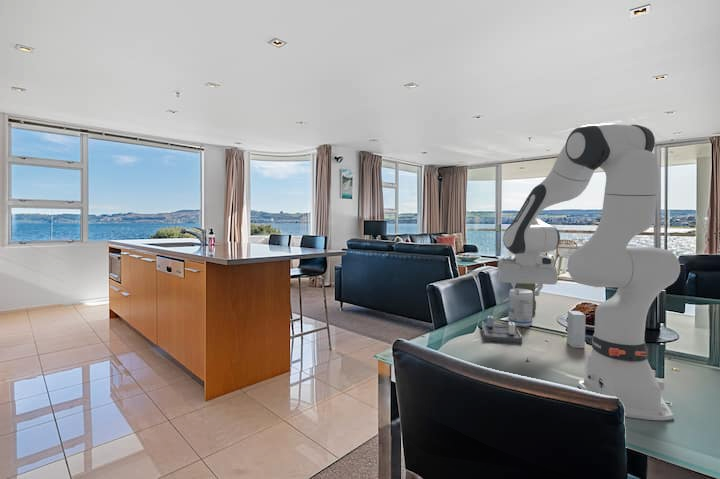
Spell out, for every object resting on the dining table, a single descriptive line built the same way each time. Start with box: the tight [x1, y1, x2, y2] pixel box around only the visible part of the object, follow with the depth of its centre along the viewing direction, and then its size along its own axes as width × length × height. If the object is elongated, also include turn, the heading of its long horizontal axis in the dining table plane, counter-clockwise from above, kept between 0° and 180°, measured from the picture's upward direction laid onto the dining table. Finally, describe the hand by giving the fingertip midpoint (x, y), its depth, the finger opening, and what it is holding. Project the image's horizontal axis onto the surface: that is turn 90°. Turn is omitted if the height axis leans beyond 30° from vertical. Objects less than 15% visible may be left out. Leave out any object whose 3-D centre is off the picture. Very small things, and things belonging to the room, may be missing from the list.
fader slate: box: [486, 314, 494, 327], centre depth 153 cm, size 4×2×4 cm, turn 166°
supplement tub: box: [507, 288, 533, 328], centre depth 163 cm, size 10×10×15 cm
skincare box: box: [566, 310, 587, 349], centre depth 137 cm, size 6×4×12 cm
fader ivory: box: [507, 322, 515, 334], centre depth 144 cm, size 4×2×4 cm, turn 166°
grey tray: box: [481, 320, 523, 345], centre depth 149 cm, size 18×13×3 cm
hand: (526, 295), depth 142 cm, fingers open, 5 cm apart
